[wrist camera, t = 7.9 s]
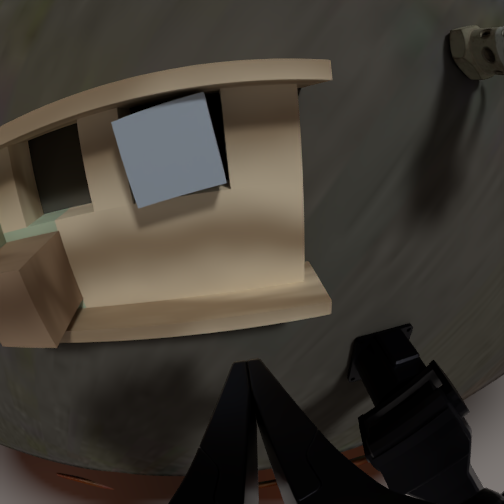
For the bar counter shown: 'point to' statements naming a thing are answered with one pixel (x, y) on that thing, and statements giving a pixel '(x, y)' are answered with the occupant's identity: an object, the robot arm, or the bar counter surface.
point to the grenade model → (478, 51)
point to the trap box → (179, 209)
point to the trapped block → (169, 150)
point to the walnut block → (36, 292)
